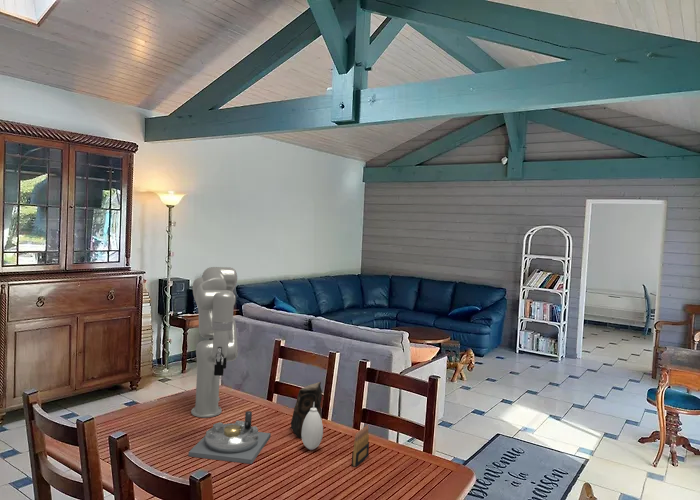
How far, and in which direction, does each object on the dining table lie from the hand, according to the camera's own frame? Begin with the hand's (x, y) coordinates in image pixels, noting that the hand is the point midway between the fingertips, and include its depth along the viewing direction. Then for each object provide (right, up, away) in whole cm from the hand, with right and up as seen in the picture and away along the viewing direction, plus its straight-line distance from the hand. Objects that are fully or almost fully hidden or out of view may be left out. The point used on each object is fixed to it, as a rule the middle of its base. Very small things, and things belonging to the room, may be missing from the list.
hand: (220, 371), depth 187 cm
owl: (+30, -28, +17) cm, 44 cm away
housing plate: (+4, -27, -1) cm, 28 cm away
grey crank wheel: (+5, -26, -1) cm, 26 cm away
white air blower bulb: (+34, -29, +1) cm, 45 cm away
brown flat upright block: (+52, -31, -6) cm, 61 cm away
